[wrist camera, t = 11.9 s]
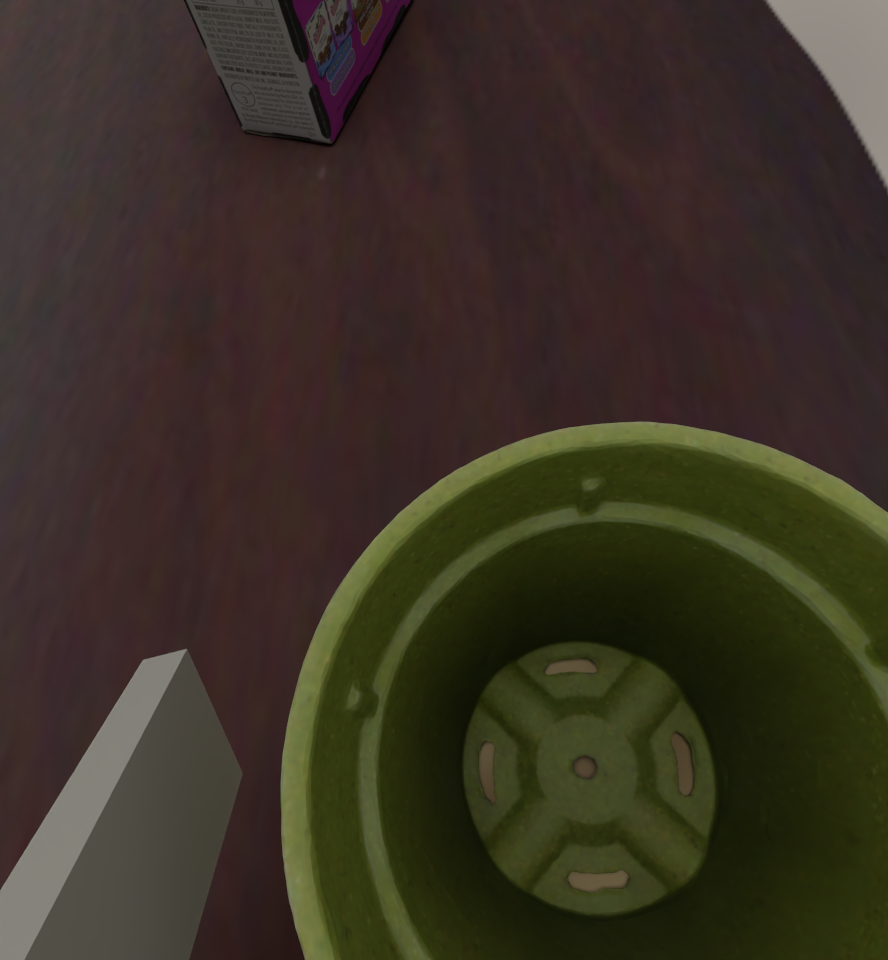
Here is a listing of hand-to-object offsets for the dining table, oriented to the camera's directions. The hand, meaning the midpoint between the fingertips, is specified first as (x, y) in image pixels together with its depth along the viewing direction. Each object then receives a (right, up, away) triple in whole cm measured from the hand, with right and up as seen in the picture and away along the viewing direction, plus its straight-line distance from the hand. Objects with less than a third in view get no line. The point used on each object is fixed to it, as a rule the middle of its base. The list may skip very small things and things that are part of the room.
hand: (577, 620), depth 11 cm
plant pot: (+1, -5, +5) cm, 7 cm away
